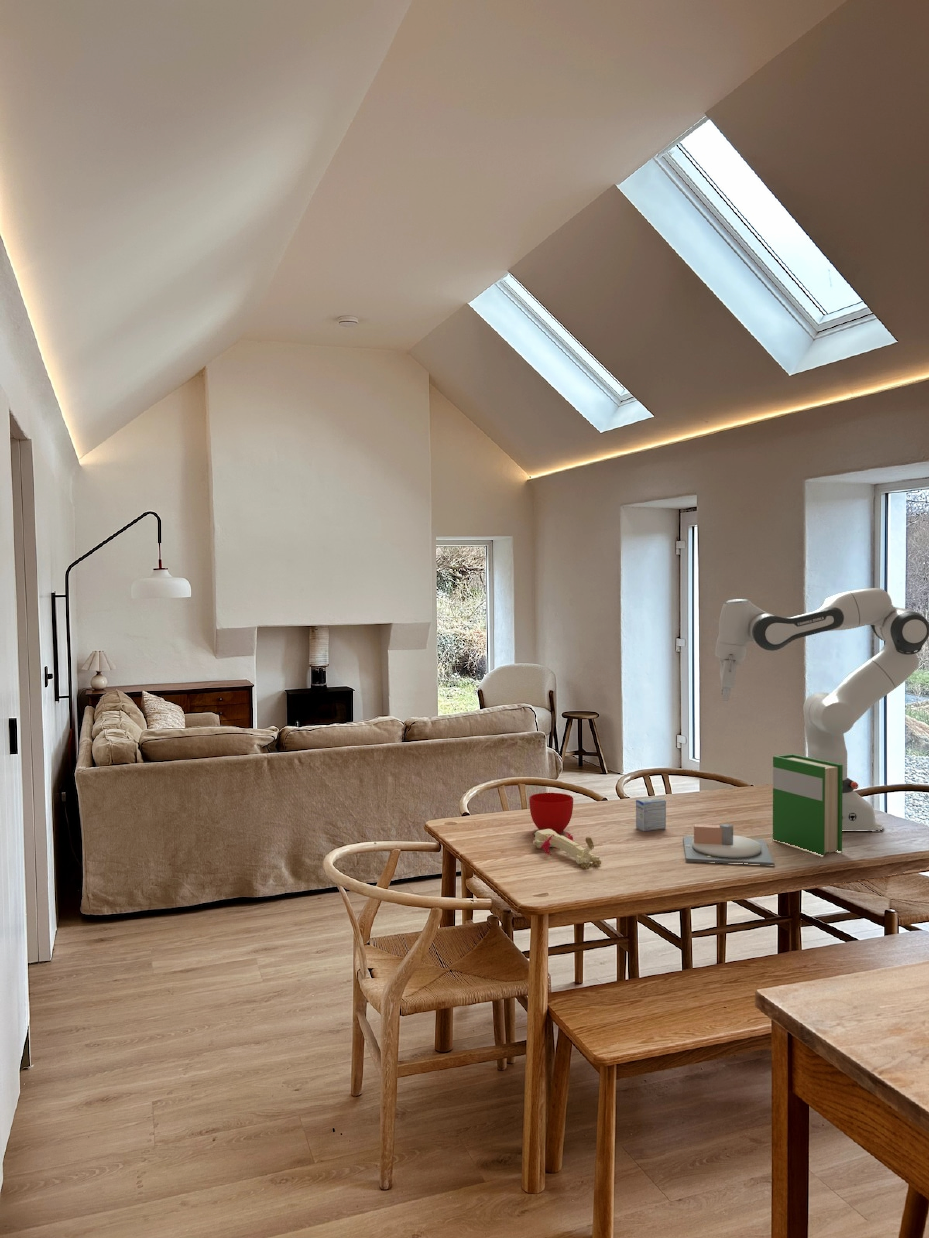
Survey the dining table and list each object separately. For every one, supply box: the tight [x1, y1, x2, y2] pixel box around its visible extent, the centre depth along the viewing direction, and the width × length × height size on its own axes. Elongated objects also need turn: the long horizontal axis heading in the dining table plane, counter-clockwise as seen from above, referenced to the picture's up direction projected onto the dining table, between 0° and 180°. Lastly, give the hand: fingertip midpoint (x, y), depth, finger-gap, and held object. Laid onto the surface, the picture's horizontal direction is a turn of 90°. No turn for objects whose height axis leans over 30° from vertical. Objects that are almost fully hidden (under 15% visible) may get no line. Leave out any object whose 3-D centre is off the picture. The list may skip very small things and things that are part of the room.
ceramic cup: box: [528, 792, 574, 835], centre depth 272 cm, size 13×17×10 cm
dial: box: [692, 823, 761, 858], centre depth 248 cm, size 18×18×6 cm
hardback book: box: [772, 753, 843, 856], centre depth 252 cm, size 18×7×24 cm, turn 26°
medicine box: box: [635, 796, 667, 832], centre depth 272 cm, size 8×4×9 cm, turn 113°
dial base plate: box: [682, 835, 775, 866], centre depth 248 cm, size 22×22×1 cm
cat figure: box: [532, 829, 602, 869], centre depth 246 cm, size 10×9×25 cm
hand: (724, 697), depth 276 cm, fingers open, 8 cm apart
